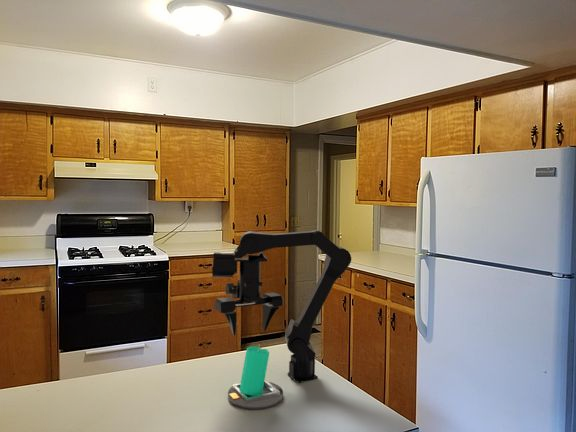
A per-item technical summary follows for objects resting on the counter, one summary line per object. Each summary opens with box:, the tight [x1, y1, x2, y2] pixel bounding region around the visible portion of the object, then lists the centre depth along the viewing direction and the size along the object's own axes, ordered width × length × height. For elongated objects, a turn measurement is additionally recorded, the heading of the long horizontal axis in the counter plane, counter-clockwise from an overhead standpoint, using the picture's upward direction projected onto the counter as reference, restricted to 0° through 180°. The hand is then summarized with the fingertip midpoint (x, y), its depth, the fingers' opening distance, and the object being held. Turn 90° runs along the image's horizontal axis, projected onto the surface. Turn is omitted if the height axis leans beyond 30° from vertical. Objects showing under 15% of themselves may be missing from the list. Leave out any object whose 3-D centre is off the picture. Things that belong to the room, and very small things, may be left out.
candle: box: [239, 343, 270, 396], centre depth 113 cm, size 6×6×12 cm
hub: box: [227, 378, 284, 411], centre depth 113 cm, size 14×14×2 cm
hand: (249, 332), depth 124 cm, fingers open, 9 cm apart
